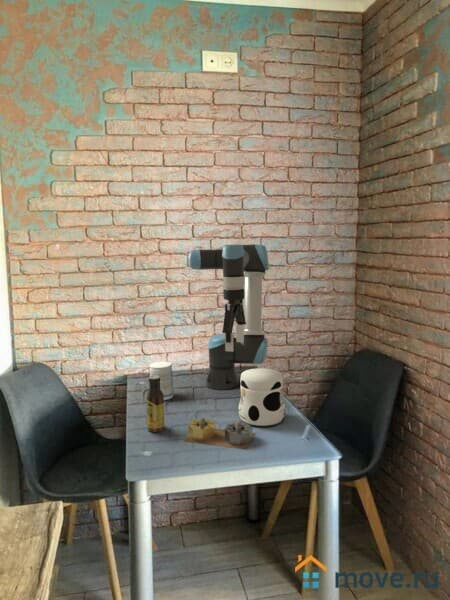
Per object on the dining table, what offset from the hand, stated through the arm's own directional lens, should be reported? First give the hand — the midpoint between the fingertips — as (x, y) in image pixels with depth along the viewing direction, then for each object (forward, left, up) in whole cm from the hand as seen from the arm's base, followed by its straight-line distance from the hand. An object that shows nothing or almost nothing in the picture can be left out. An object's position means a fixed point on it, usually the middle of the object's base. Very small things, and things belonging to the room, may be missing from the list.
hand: (235, 346), depth 165 cm
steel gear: (+16, +6, -28) cm, 32 cm away
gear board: (+16, -1, -29) cm, 33 cm away
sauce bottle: (+14, -26, -29) cm, 41 cm away
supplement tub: (-16, -38, -29) cm, 50 cm away
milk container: (-3, +9, -29) cm, 30 cm away
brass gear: (+16, -8, -28) cm, 33 cm away
